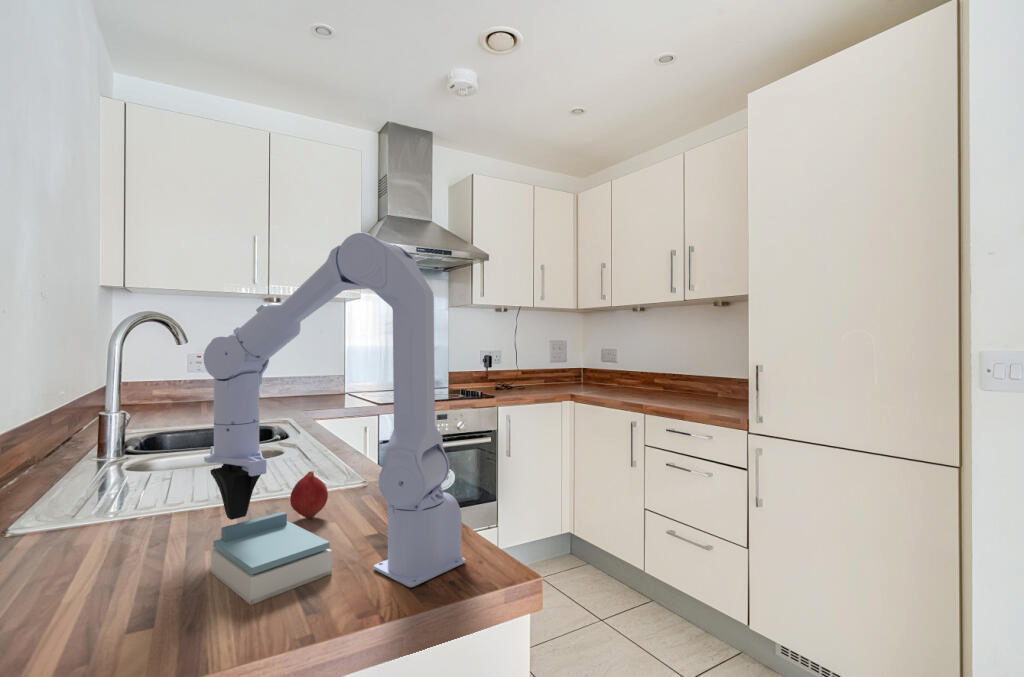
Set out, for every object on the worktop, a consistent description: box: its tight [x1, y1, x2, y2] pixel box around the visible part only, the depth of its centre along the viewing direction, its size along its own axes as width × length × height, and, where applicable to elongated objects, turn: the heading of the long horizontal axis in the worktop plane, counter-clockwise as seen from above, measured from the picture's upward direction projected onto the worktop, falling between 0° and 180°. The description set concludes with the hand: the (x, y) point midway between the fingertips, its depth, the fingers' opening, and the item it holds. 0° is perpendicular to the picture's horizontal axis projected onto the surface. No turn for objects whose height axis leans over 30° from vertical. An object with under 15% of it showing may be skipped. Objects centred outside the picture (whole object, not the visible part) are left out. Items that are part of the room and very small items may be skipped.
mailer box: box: [210, 548, 333, 606], centre depth 65 cm, size 10×12×3 cm
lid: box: [212, 511, 331, 575], centre depth 65 cm, size 10×12×2 cm
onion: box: [289, 470, 329, 520], centre depth 85 cm, size 6×6×8 cm
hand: (236, 517), depth 72 cm, fingers closed
